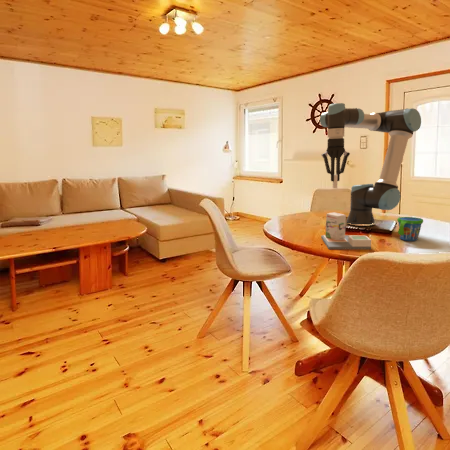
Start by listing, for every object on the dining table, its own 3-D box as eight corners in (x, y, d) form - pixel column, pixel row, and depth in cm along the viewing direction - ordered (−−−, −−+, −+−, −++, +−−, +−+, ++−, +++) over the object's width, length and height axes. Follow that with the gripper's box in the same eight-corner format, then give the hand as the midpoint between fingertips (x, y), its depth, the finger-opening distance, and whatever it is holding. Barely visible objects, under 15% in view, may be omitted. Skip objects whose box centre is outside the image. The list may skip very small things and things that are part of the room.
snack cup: (408, 235, 178) (410, 215, 176) (429, 239, 169) (431, 218, 167) (388, 239, 171) (389, 218, 169) (408, 244, 162) (410, 222, 160)
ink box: (325, 237, 174) (325, 213, 171) (333, 235, 176) (333, 212, 173) (337, 240, 166) (338, 215, 164) (345, 239, 168) (346, 214, 166)
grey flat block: (358, 237, 176) (359, 229, 175) (371, 249, 156) (371, 239, 155) (321, 237, 178) (321, 229, 177) (328, 249, 158) (329, 240, 157)
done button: (364, 241, 162) (364, 236, 162) (367, 245, 157) (367, 239, 156) (351, 241, 163) (351, 236, 162) (354, 245, 157) (354, 239, 157)
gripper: (323, 138, 165) (323, 189, 170) (352, 137, 164) (350, 188, 169) (320, 138, 172) (319, 187, 177) (347, 137, 172) (346, 186, 177)
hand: (334, 188), depth 173 cm, fingers closed
